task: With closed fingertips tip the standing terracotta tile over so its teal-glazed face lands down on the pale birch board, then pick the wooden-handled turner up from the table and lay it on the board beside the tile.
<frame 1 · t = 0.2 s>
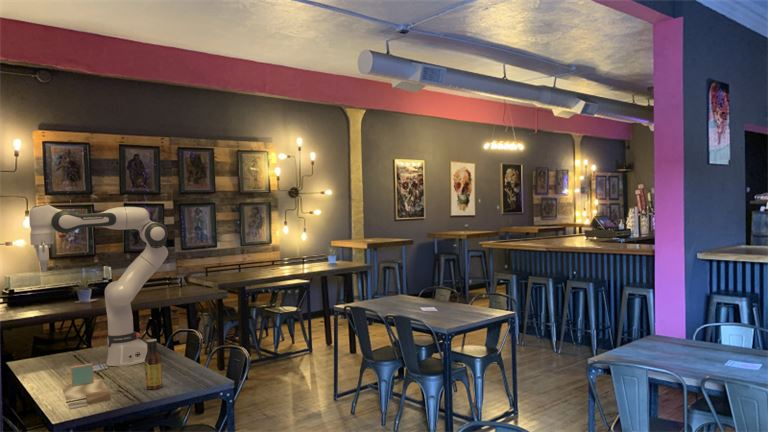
hand: (43, 271, 255), 47 cm above the table, fingers open, 8 cm apart
board: (84, 391, 231), on the table
tile: (82, 384, 236), point 1 cm above the table, touching board
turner: (98, 401, 218), on the table
sauce bottle: (154, 388, 232), on the table
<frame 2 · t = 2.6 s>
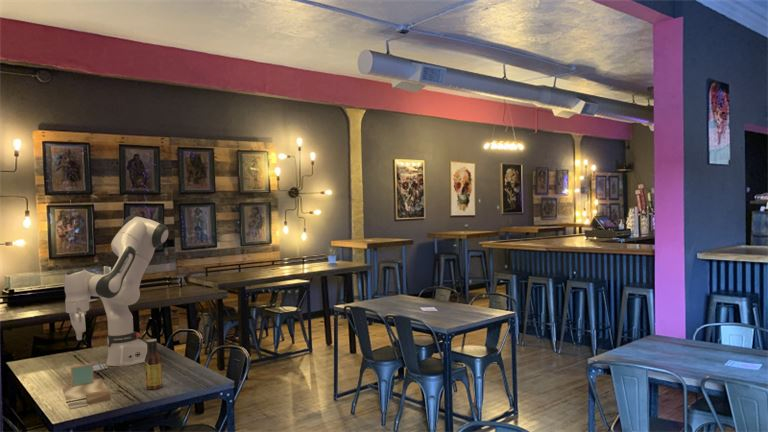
hand: (79, 339, 241), 19 cm above the table, fingers closed
nothing on the table moved.
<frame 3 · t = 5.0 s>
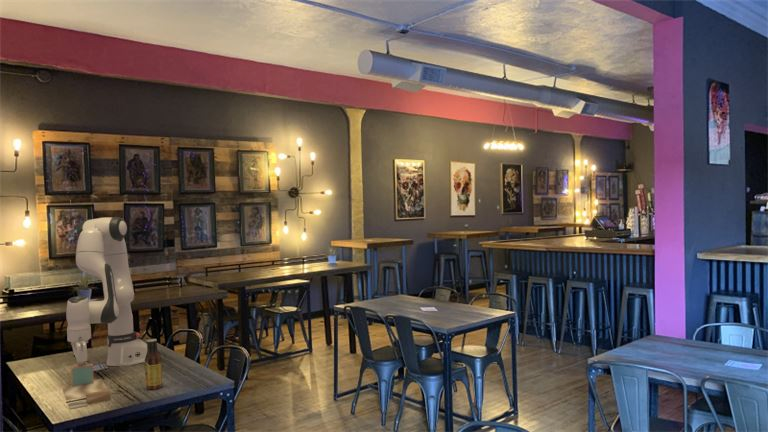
hand: (80, 368, 237), 8 cm above the table, fingers closed
tile: (82, 384, 236), point 1 cm above the table, tilted 7°, touching board
everything else where it was.
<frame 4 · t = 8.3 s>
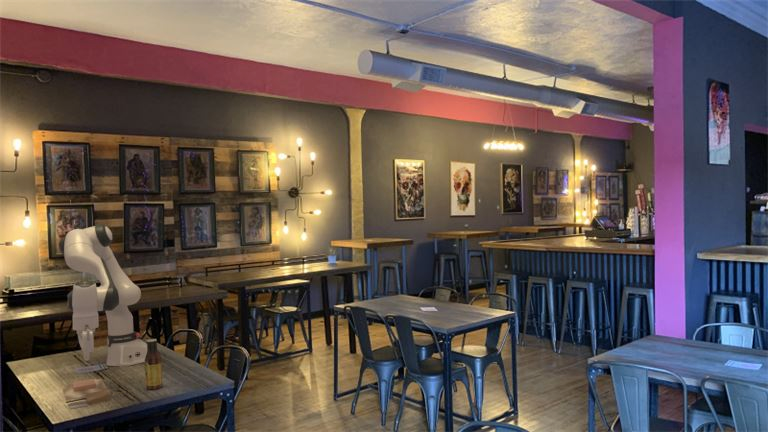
hand: (86, 359, 217), 17 cm above the table, fingers closed
tile: (82, 382, 236), point 2 cm above the table, tilted 90°, touching board
everything else where it was.
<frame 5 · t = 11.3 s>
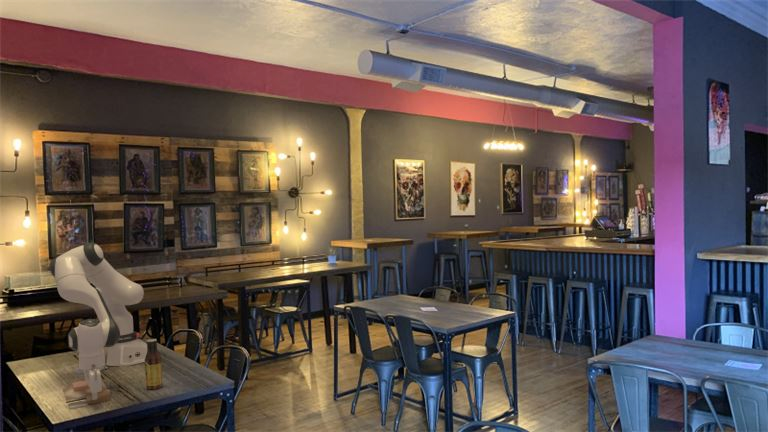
hand: (93, 398, 217), 2 cm above the table, fingers closed on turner, 2 cm apart
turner: (98, 401, 218), on the table, touching gripper
everything else where it was.
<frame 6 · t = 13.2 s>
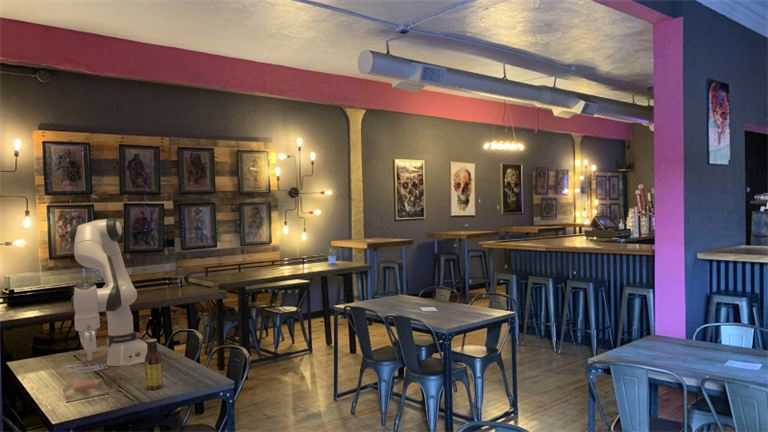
hand: (89, 358, 225), 15 cm above the table, fingers closed on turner, 2 cm apart
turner: (93, 362, 226), point 13 cm above the table, touching gripper
everything else where it was.
when the fingers open (4 cm above the table, at t = 15.3 s): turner drops 1 cm, resting on board.
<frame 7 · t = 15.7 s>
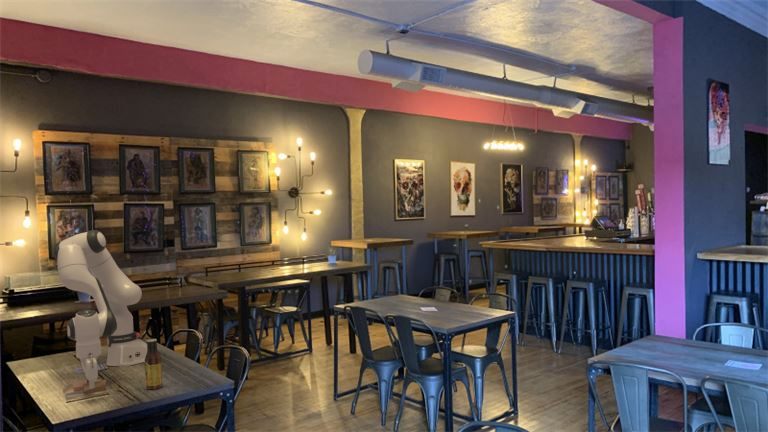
hand: (90, 385, 225), 4 cm above the table, fingers open, 7 cm apart
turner: (95, 391, 226), point 1 cm above the table, touching board
everything else where it was.
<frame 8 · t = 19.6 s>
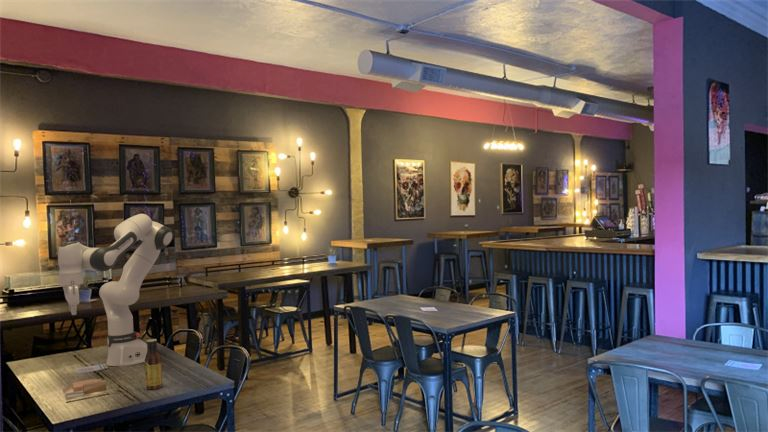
hand: (72, 313, 237), 31 cm above the table, fingers open, 8 cm apart
nothing on the table moved.
at the end: tile tilted 90°; tile inside the target area on the board (4.1 cm from its centre), point 2.1 cm above the board's base; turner inside the target area on the board (0.5 cm from its centre), point 1.2 cm above the board's base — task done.
